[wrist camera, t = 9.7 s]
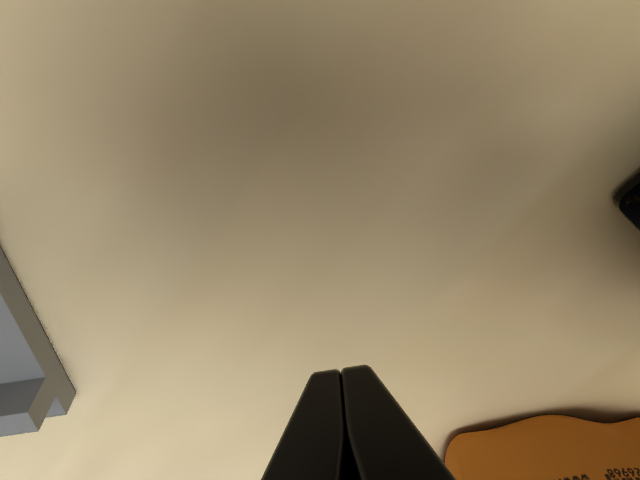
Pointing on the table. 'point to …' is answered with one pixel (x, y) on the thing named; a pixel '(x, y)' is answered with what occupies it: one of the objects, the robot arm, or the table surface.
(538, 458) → the coffee package
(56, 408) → the track housing
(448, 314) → the table surface
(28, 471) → the table surface
